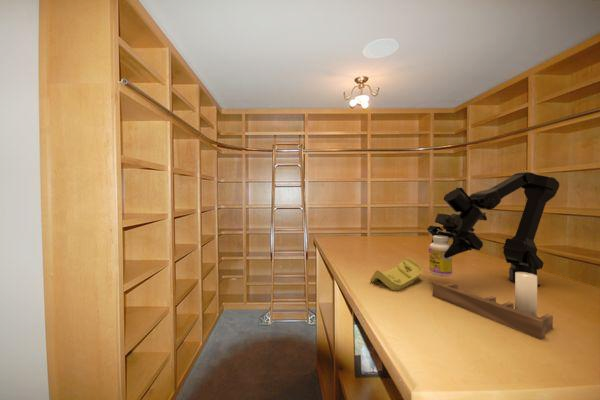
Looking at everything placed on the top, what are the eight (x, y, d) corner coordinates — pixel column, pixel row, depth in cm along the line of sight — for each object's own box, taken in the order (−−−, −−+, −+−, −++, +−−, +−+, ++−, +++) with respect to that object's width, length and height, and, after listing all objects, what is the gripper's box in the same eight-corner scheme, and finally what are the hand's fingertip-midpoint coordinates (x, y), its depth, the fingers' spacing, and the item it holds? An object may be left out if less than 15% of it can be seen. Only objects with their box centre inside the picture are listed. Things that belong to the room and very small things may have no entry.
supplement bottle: (425, 271, 84) (425, 235, 83) (443, 270, 84) (442, 234, 84) (438, 277, 77) (437, 238, 77) (457, 276, 77) (456, 237, 77)
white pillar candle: (519, 316, 62) (519, 271, 62) (540, 323, 58) (540, 275, 58) (511, 319, 60) (512, 273, 60) (532, 327, 57) (532, 278, 56)
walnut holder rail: (448, 290, 79) (449, 278, 79) (557, 329, 56) (557, 312, 56) (432, 295, 75) (432, 283, 75) (541, 339, 52) (541, 321, 52)
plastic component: (398, 286, 77) (374, 267, 84) (390, 302, 80) (368, 282, 87) (427, 270, 89) (404, 254, 96) (419, 284, 92) (398, 268, 99)
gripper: (431, 204, 90) (405, 234, 88) (474, 206, 71) (442, 244, 70) (449, 224, 91) (424, 254, 90) (497, 231, 73) (466, 269, 71)
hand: (437, 254), depth 80 cm, fingers closed on supplement bottle, 7 cm apart
